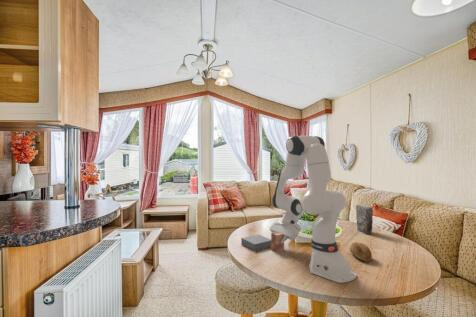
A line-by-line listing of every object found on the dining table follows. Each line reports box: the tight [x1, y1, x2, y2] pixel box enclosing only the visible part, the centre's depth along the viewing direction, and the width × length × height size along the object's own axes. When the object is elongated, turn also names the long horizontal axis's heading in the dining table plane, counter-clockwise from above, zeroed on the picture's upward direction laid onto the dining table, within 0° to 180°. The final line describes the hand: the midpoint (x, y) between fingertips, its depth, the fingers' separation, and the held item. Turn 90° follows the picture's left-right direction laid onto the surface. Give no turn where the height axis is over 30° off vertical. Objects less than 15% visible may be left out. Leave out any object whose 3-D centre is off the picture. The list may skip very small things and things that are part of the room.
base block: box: [240, 234, 271, 252], centre depth 161 cm, size 14×14×4 cm
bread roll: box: [349, 242, 373, 262], centre depth 142 cm, size 10×15×8 cm, turn 3°
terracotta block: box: [270, 232, 285, 253], centre depth 154 cm, size 6×6×10 cm
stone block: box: [355, 204, 374, 236], centre depth 191 cm, size 13×7×20 cm, turn 11°
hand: (276, 241), depth 153 cm, fingers closed on terracotta block, 5 cm apart
